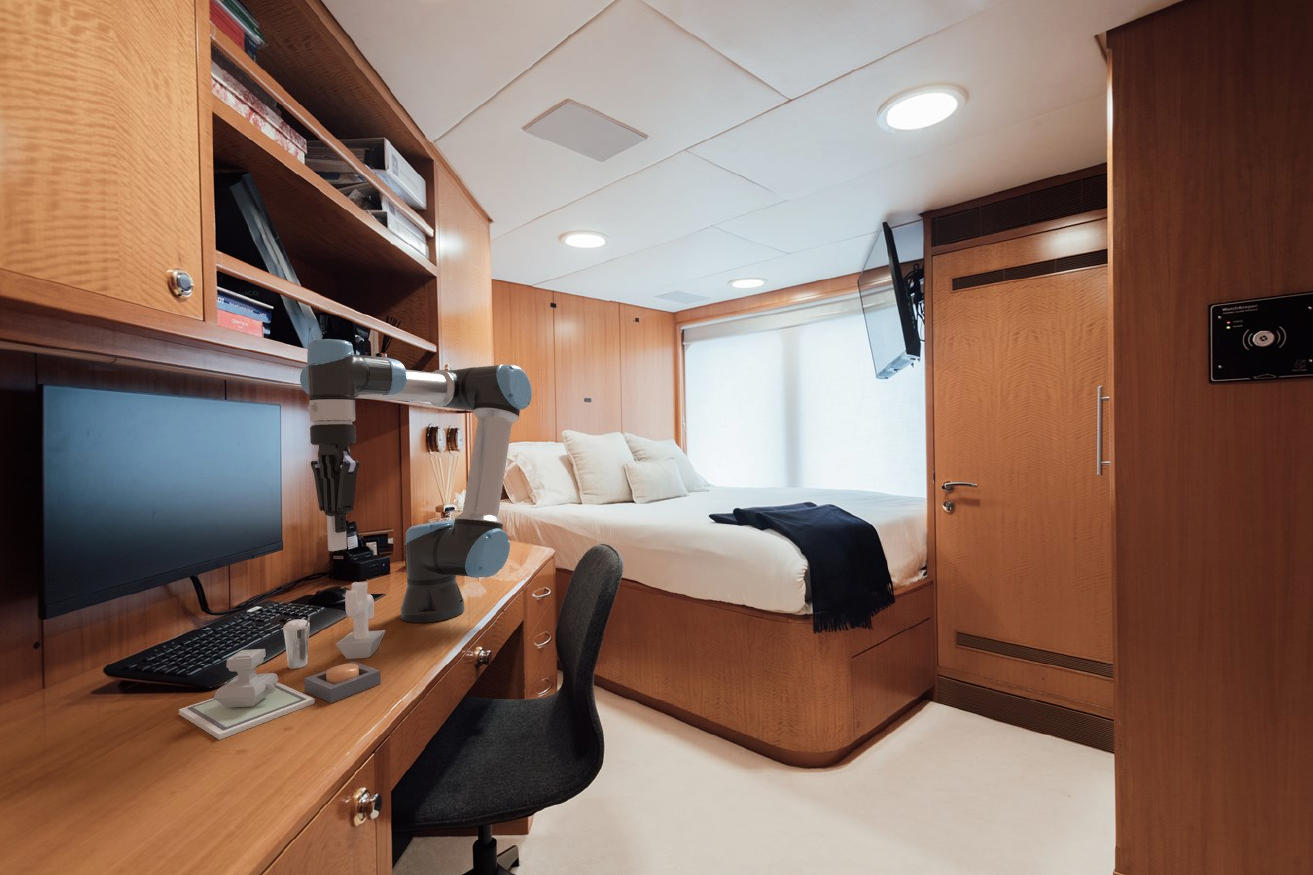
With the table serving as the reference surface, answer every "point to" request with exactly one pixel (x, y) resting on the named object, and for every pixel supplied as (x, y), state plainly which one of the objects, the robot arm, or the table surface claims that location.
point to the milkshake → (297, 642)
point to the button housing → (342, 684)
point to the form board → (244, 712)
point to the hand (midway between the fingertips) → (337, 549)
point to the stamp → (246, 680)
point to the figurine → (360, 624)
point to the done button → (342, 673)
